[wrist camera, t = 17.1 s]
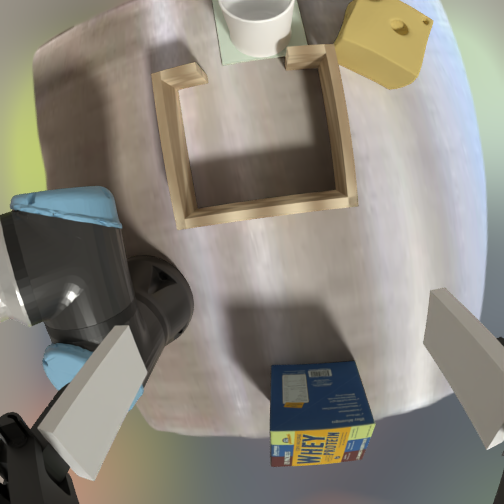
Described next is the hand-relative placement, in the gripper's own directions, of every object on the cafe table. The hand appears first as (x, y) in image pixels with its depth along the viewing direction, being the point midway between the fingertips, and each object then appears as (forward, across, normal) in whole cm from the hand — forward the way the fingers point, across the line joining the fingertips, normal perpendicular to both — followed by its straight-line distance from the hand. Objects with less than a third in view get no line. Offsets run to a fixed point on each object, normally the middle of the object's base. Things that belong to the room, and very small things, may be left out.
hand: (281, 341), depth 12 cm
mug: (+31, +2, +27) cm, 41 cm away
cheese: (+32, +17, +22) cm, 42 cm away
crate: (+32, -1, +10) cm, 33 cm away
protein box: (+32, +3, -33) cm, 46 cm away
